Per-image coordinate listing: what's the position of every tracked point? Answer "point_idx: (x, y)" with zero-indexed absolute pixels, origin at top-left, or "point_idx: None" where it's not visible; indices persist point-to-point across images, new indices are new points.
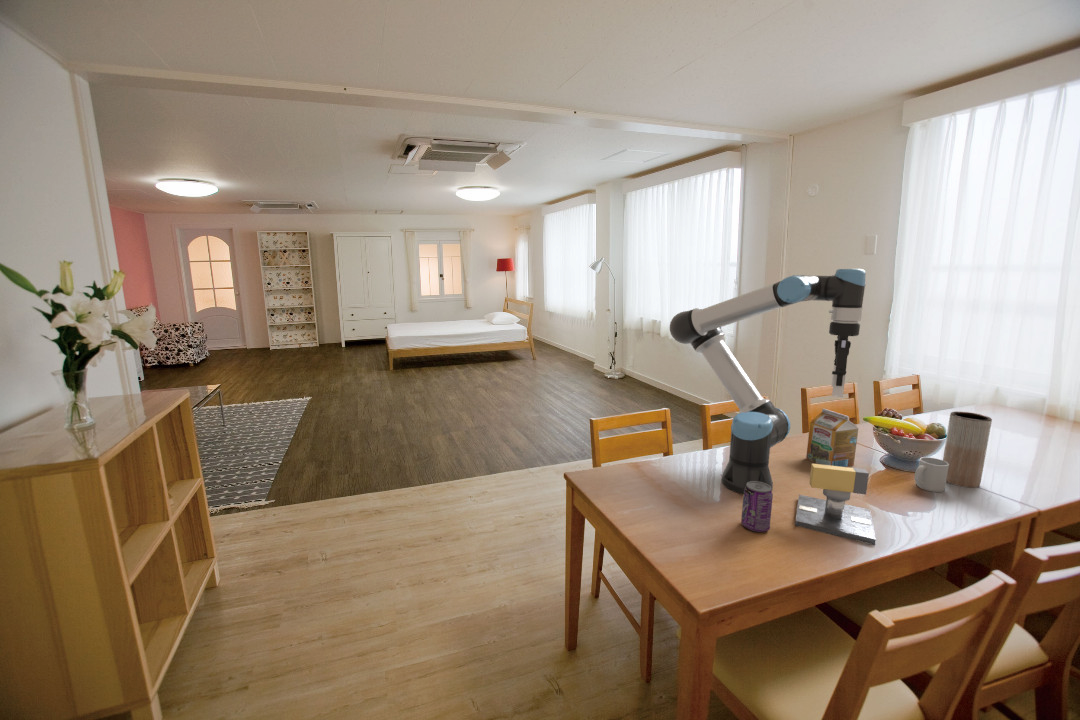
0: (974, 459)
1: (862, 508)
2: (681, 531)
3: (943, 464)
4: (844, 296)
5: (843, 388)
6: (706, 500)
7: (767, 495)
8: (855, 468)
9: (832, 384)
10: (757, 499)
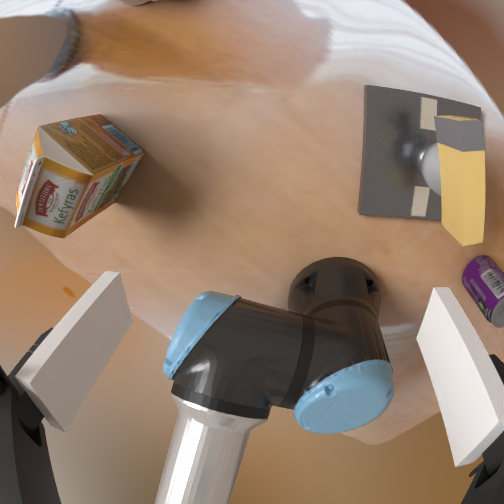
0: None
1: (369, 99)
2: (492, 338)
3: None
4: None
5: (473, 330)
6: (414, 336)
7: None
8: (464, 145)
9: (127, 328)
10: None
